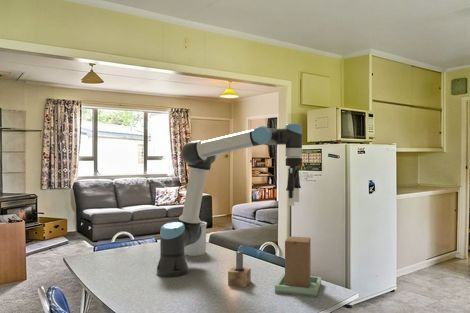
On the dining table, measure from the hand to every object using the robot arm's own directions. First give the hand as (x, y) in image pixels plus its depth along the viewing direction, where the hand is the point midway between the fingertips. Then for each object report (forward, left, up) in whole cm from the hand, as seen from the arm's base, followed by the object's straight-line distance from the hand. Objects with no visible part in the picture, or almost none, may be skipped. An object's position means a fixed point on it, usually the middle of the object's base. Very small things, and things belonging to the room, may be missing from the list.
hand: (293, 203), depth 174 cm
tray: (+4, -11, -35) cm, 37 cm away
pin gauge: (-22, -13, -35) cm, 43 cm away
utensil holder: (-64, +30, -35) cm, 79 cm away
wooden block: (+4, -11, -34) cm, 36 cm away
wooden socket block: (-22, -13, -35) cm, 43 cm away
